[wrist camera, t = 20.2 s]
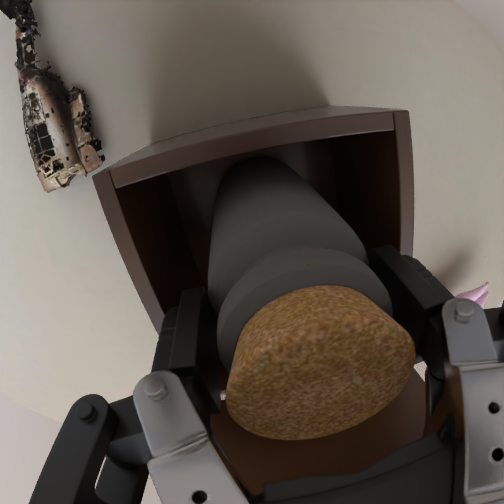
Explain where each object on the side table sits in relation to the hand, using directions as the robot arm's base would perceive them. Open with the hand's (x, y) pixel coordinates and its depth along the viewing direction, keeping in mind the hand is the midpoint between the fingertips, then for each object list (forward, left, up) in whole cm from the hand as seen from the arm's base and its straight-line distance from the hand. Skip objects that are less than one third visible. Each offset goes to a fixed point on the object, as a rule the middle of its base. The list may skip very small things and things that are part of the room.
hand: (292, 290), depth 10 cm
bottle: (0, 0, -11) cm, 11 cm away
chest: (+2, 0, -12) cm, 12 cm away
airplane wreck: (-13, -12, -12) cm, 22 cm away
